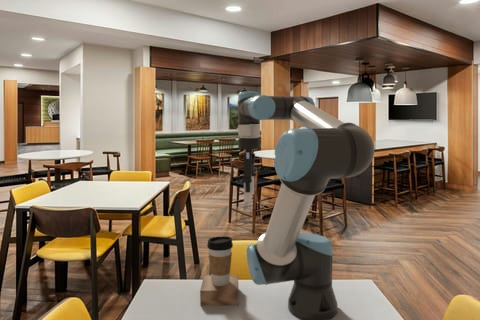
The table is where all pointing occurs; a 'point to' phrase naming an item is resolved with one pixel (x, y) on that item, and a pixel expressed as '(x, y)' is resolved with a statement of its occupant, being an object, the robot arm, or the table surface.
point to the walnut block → (219, 292)
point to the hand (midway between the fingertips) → (249, 197)
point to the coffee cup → (220, 259)
